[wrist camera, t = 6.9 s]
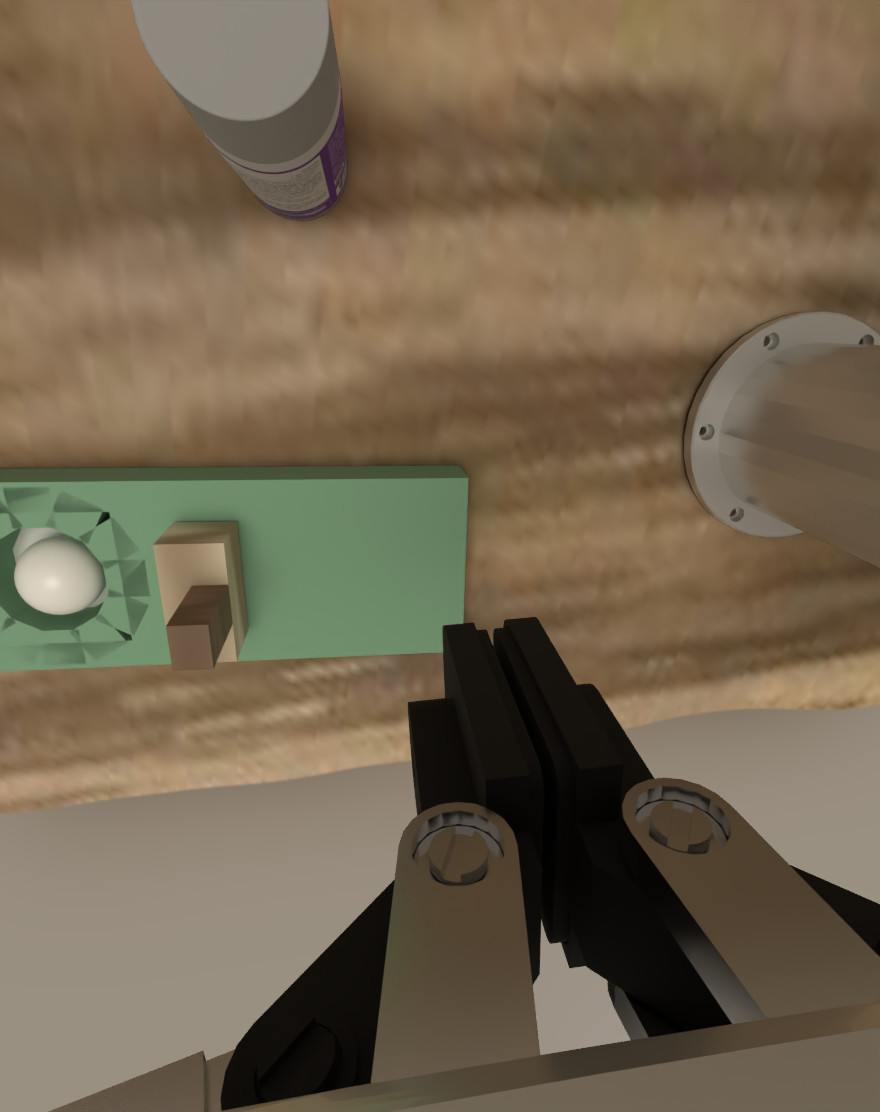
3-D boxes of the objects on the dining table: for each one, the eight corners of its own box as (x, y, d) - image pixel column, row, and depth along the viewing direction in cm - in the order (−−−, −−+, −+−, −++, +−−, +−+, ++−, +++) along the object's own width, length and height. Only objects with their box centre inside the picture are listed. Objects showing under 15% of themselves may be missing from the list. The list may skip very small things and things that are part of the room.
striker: (237, 521, 30) (201, 577, 23) (248, 630, 32) (218, 710, 26) (173, 522, 30) (119, 580, 23) (189, 632, 32) (143, 714, 25)
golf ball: (55, 522, 33) (117, 530, 32) (70, 591, 34) (130, 600, 33) (-16, 546, 29) (52, 556, 28) (4, 621, 30) (69, 633, 29)
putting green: (459, 465, 34) (468, 478, 31) (454, 626, 37) (462, 651, 35) (-96, 469, 31) (-142, 483, 28) (-44, 646, 34) (-80, 674, 31)
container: (284, 75, 27) (202, -193, 13) (368, 160, 28) (375, 3, 14) (221, 167, 28) (81, 9, 14) (306, 244, 29) (256, 173, 15)
